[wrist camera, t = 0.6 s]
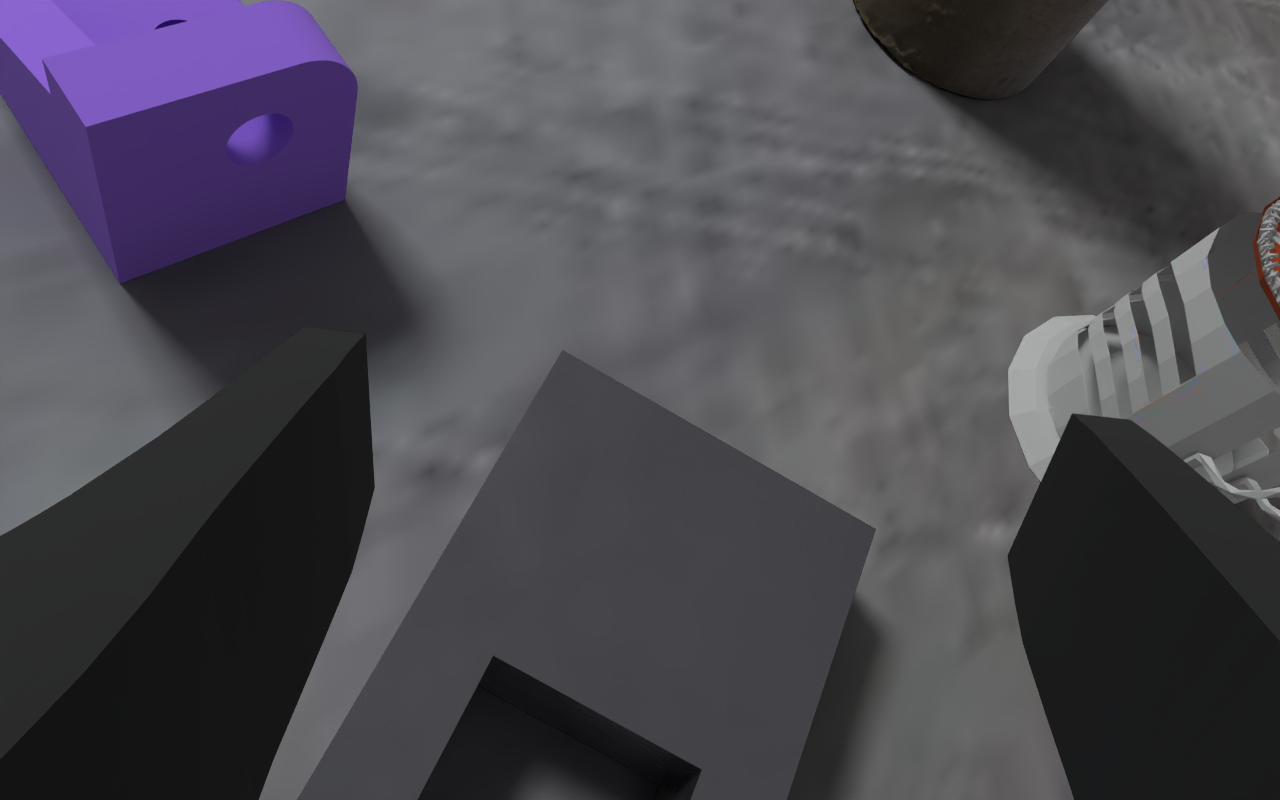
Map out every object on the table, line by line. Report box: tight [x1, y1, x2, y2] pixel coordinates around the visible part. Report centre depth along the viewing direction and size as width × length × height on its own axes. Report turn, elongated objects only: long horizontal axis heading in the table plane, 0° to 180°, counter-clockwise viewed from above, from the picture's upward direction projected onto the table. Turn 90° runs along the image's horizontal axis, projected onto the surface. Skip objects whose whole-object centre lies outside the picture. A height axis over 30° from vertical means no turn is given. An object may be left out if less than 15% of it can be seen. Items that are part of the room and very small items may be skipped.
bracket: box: [0, 0, 358, 284], centre depth 28 cm, size 12×7×7 cm, turn 37°
